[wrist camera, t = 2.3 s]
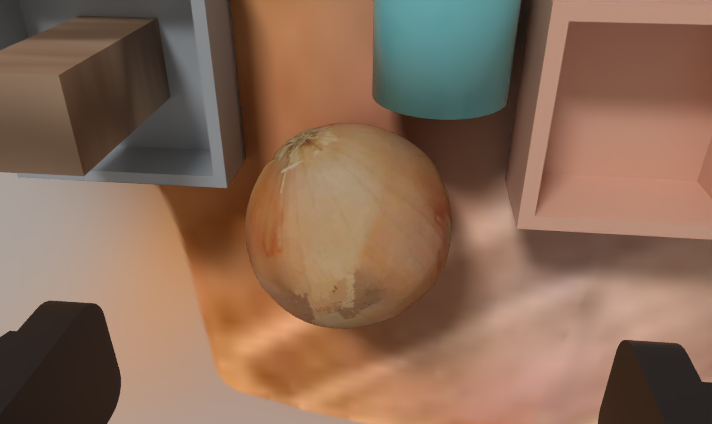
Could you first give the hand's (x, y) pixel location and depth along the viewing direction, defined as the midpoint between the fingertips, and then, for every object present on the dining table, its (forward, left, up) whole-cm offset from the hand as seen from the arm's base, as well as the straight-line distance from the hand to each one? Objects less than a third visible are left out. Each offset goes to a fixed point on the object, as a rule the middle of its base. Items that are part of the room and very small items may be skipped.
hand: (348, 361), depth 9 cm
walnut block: (+2, -14, -22) cm, 26 cm away
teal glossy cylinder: (-1, +2, -22) cm, 22 cm away
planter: (+3, +11, -22) cm, 25 cm away
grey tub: (+2, -14, -22) cm, 26 cm away
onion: (+8, -2, -22) cm, 24 cm away
